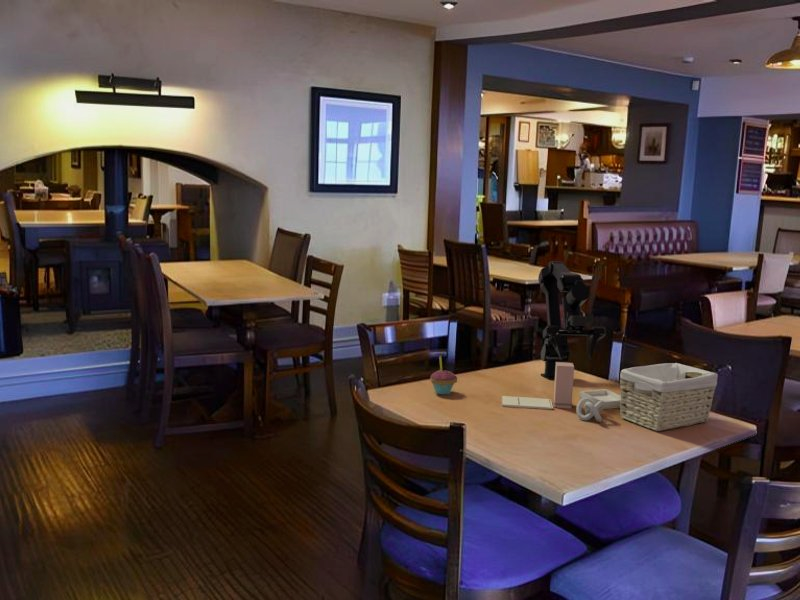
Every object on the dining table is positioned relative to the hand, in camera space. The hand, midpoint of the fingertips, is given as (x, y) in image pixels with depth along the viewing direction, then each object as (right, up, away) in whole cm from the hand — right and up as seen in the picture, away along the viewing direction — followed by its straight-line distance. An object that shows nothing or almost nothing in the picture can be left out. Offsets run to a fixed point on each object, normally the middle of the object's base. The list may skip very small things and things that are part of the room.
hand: (575, 358), depth 220 cm
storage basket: (+22, -17, -16) cm, 32 cm away
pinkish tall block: (-5, -14, -5) cm, 16 cm away
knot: (0, -16, -18) cm, 24 cm away
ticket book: (-16, -13, -4) cm, 21 cm away
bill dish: (+9, -13, 0) cm, 16 cm away
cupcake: (-41, -11, +5) cm, 43 cm away
